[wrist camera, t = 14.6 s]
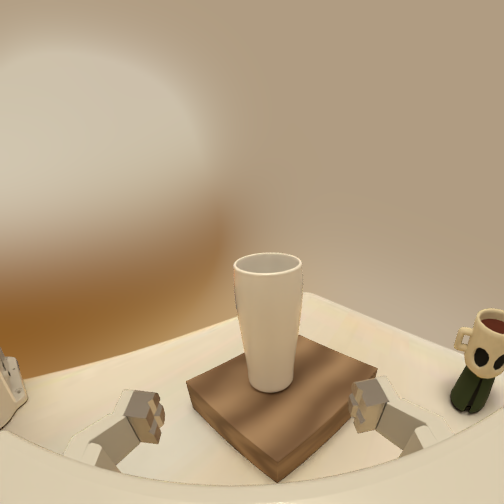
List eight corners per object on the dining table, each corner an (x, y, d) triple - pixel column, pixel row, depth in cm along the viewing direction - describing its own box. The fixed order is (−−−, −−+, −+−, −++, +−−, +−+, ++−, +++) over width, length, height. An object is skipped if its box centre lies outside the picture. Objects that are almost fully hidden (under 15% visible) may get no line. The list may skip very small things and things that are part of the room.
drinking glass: (279, 357, 35) (277, 248, 31) (310, 384, 30) (317, 263, 26) (233, 374, 32) (221, 260, 28) (260, 407, 27) (253, 280, 23)
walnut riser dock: (193, 407, 33) (185, 381, 31) (286, 354, 44) (286, 329, 42) (277, 483, 21) (277, 462, 19) (370, 395, 32) (377, 368, 30)
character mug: (430, 409, 26) (462, 327, 23) (439, 378, 31) (463, 302, 28) (495, 422, 19) (537, 341, 16) (497, 390, 24) (528, 314, 21)
